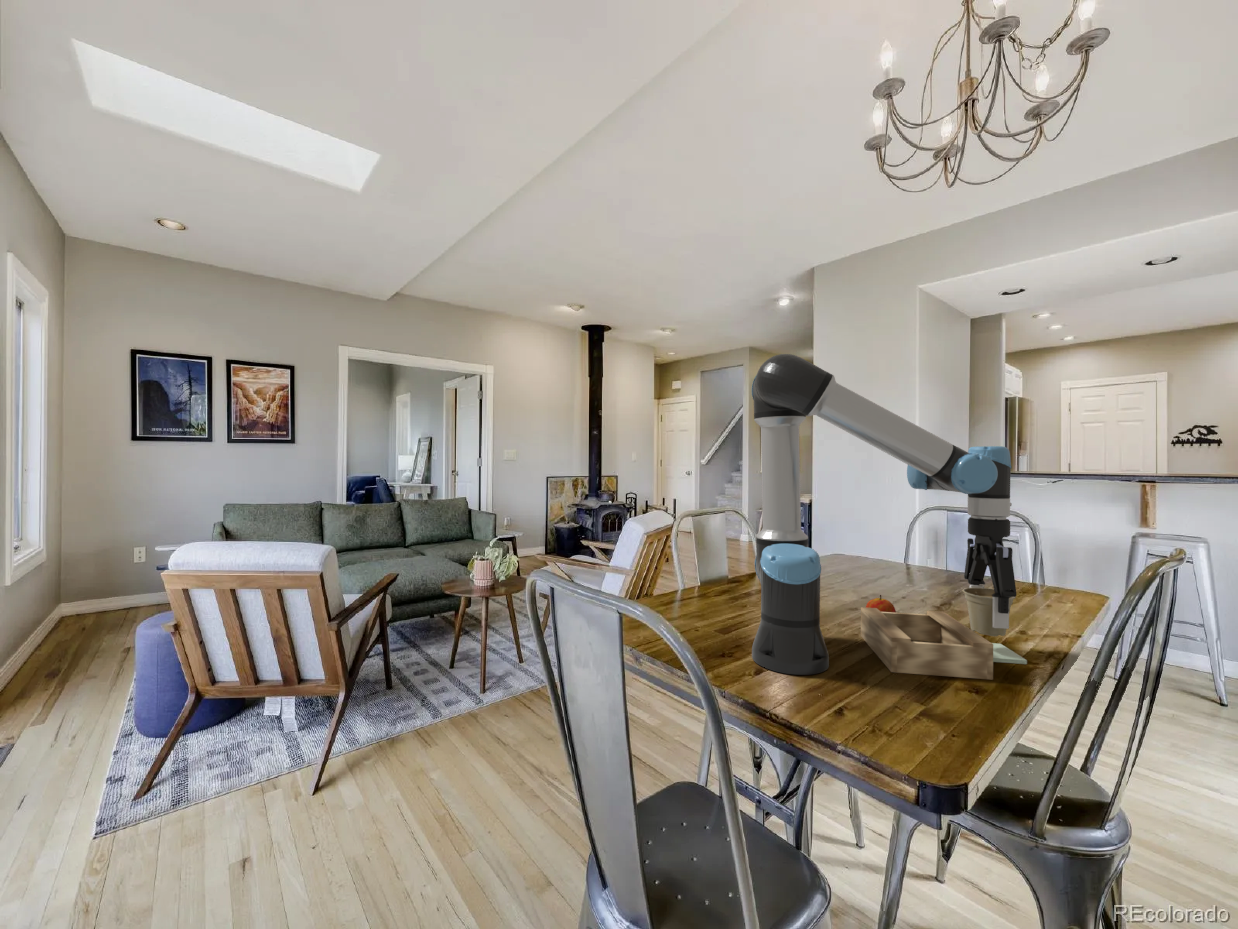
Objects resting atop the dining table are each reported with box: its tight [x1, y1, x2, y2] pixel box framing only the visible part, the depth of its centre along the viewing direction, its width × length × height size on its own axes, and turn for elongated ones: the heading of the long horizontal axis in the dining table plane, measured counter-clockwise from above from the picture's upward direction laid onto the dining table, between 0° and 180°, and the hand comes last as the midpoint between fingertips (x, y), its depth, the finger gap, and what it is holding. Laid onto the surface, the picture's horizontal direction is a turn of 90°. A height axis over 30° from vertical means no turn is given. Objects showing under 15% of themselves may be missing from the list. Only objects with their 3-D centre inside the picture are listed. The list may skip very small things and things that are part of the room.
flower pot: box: [962, 587, 1017, 637], centre depth 113 cm, size 9×9×9 cm
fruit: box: [865, 594, 897, 613], centre depth 132 cm, size 7×7×8 cm
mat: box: [991, 642, 1028, 665], centre depth 113 cm, size 10×10×1 cm
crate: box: [860, 606, 994, 681], centre depth 112 cm, size 18×22×7 cm
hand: (988, 620), depth 113 cm, fingers closed on flower pot, 9 cm apart
